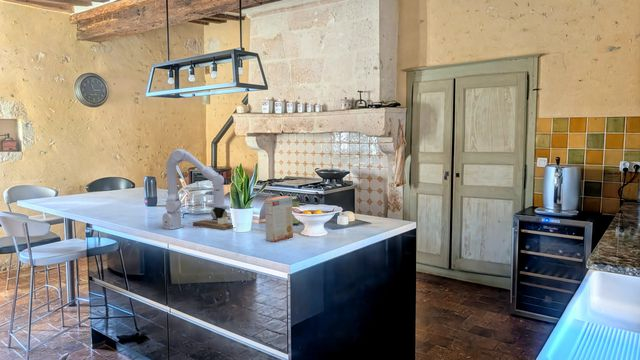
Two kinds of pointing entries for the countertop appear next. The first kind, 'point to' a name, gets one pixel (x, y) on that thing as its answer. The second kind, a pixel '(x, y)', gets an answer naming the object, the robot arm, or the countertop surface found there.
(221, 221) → the fader knob
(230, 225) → the fader console
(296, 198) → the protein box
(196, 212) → the countertop surface
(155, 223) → the countertop surface
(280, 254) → the countertop surface
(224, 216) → the ceramic mug
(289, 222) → the cracker box
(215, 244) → the countertop surface
